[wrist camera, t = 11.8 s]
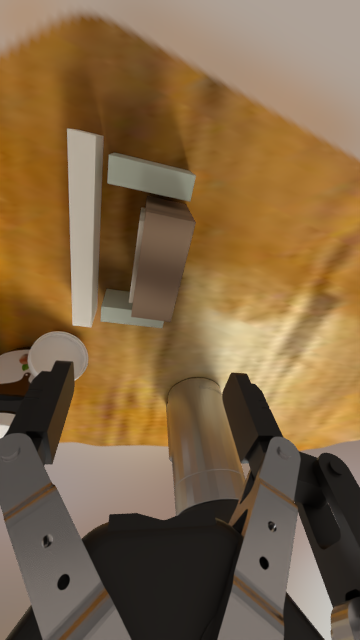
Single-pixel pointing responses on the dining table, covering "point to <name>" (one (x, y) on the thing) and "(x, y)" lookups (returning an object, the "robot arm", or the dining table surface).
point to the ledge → (87, 217)
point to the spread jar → (35, 369)
